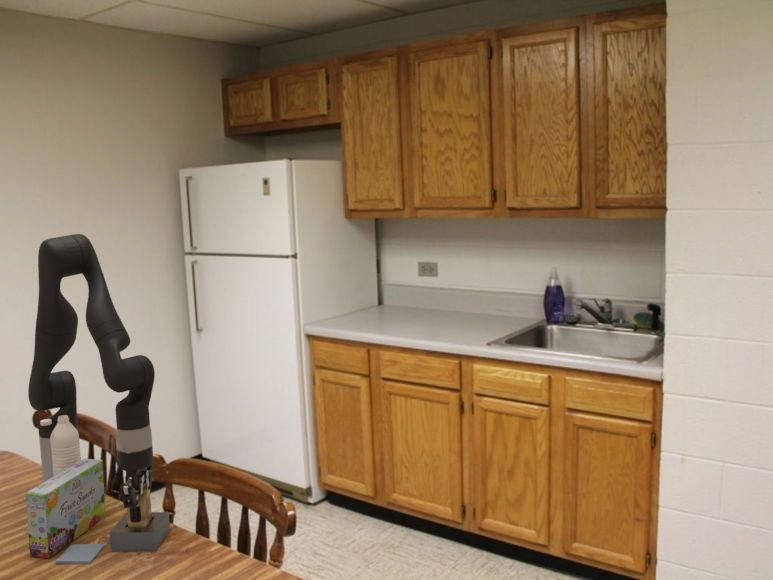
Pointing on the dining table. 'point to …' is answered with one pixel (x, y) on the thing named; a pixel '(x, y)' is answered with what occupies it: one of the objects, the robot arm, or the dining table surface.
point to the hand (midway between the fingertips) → (139, 516)
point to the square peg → (142, 510)
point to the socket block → (139, 534)
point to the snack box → (65, 507)
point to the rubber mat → (80, 554)
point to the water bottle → (63, 444)
